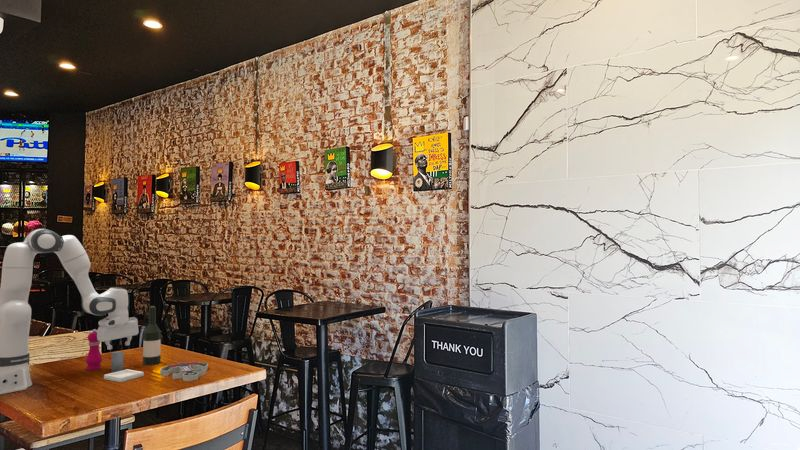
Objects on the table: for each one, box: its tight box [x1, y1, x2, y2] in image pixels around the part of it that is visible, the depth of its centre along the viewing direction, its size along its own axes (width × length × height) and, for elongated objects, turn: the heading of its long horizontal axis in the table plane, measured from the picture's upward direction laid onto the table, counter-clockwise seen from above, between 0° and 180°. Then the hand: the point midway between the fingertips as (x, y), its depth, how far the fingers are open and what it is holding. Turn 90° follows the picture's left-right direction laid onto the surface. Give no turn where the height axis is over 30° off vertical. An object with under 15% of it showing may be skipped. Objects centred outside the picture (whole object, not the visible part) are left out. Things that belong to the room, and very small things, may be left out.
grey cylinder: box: [110, 351, 124, 373], centre depth 262 cm, size 5×5×9 cm
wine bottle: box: [142, 305, 162, 366], centre depth 278 cm, size 8×8×30 cm
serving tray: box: [103, 368, 145, 383], centre depth 249 cm, size 12×12×2 cm
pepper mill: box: [85, 328, 103, 371], centre depth 266 cm, size 7×7×20 cm
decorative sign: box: [160, 361, 209, 382], centre depth 257 cm, size 22×3×30 cm
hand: (118, 347), depth 263 cm, fingers open, 8 cm apart
